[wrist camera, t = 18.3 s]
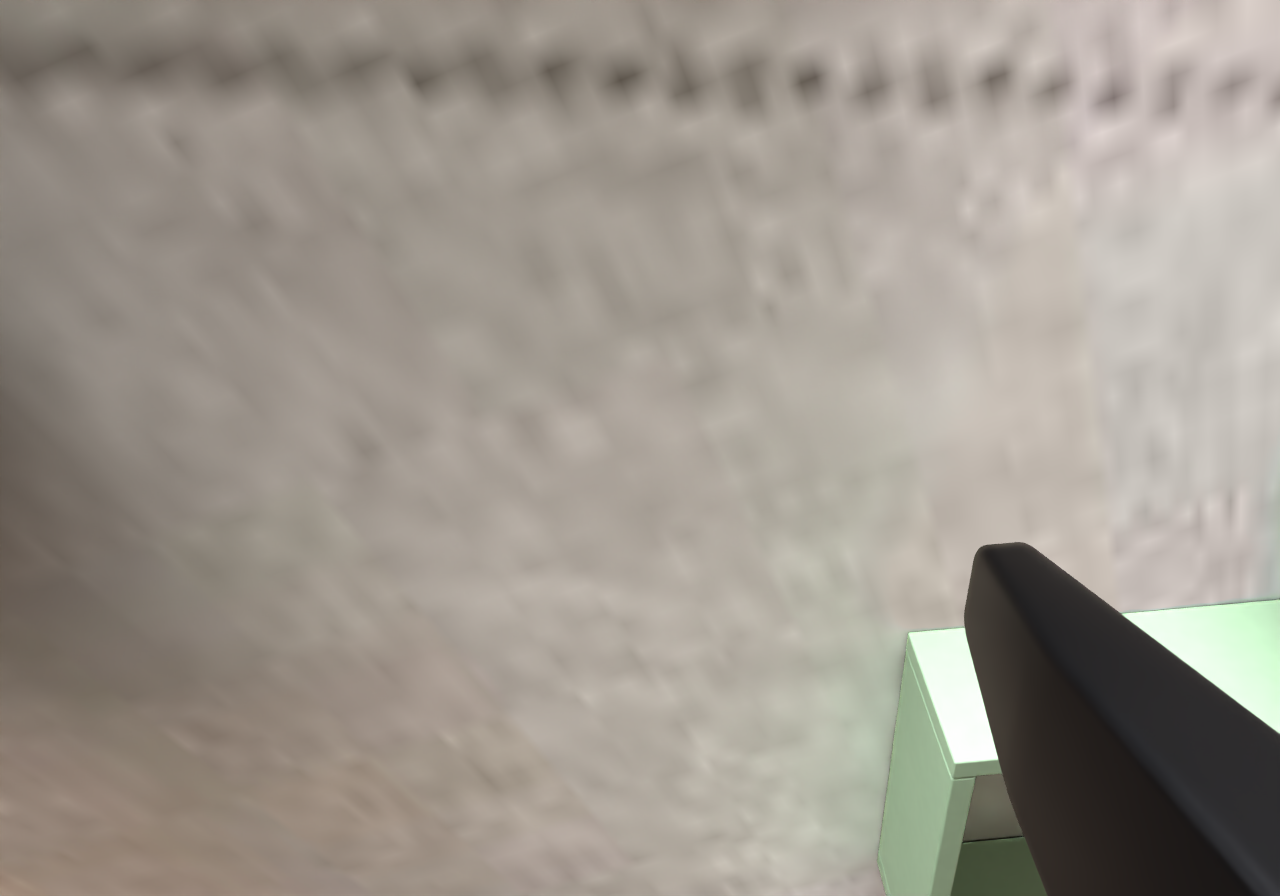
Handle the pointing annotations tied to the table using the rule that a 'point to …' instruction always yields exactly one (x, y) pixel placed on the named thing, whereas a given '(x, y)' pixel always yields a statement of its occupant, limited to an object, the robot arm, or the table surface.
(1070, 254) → the table surface
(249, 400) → the table surface
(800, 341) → the table surface
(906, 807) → the green open tray
